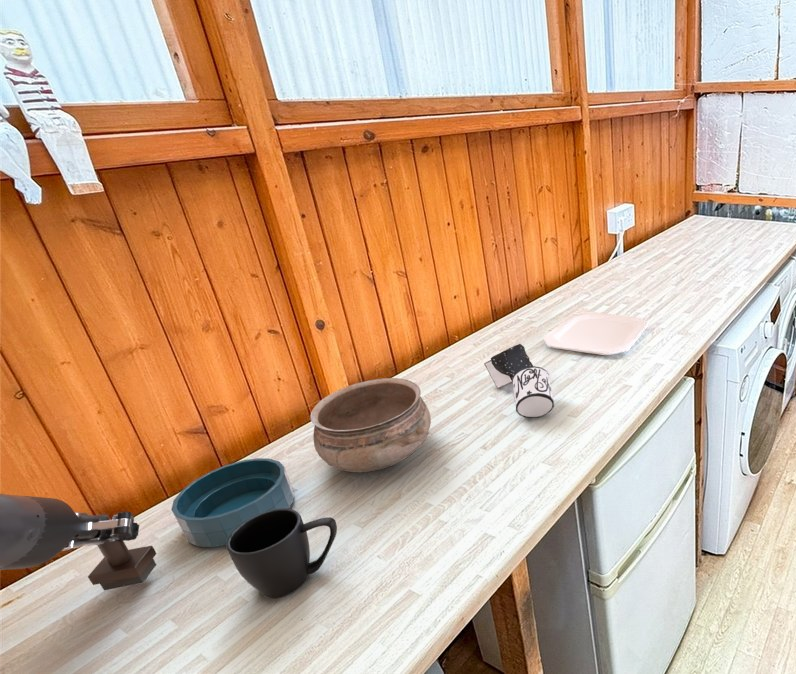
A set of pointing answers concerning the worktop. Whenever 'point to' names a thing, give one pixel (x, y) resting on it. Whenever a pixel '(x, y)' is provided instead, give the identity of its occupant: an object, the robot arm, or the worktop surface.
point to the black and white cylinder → (522, 381)
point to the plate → (596, 333)
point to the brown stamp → (122, 565)
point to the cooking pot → (370, 424)
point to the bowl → (230, 499)
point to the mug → (276, 550)
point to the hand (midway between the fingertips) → (121, 533)
